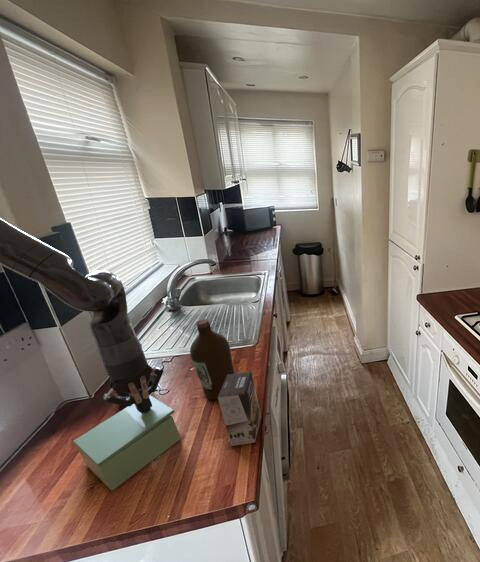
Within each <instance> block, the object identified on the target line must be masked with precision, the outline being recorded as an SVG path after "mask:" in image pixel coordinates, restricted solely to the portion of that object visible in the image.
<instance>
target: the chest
mask: <svg viewBox="0 0 480 562" xmlns="http://www.w3.org/2000/svg"><path fill="white" fill-rule="evenodd" d="M181 438H182V437H181V435H180V433H179V430H178V428H177V425H176V421H175V419H174V417H173V416H172V414H171V415H170V416H168V417H167V418H166V419H164V420H163V421H162V422H160V423H159V424H157V425H156V426H155V427H153V428H152V429H151V430H149V431H148V432H146V433H145V434H144V435H142V436H141V437H140V438H138V439H137V440H135V441H134V442H133V443H131V444H130V445H128V446H127V447H126V448H124V449H123V450H122V451H120V452H119V453H117V454H116V455H115V456H113V457H112V458H111V459H109V460H108V461H106V462H105V463H104V464H102V465H101V466H100V467H99V466H98V465H97V464H96V463H94V462H93V461H92V460H91V459H90V458H89V457H88V456H87V455H86V454H85V453H84V452H83V451H82V450H81V449H80V448H79V447H78V446H77V445H76V444H75V443H74V446H75V447H76V448H77V451H78V452H79V454H80V456H81V458H82V460H83V462H84V463H85V464H86V466H87V468H88V469H89V470H90V471H91V472H92V473H93V474H94V475H95V476H96V477H97V478H98V479H99V480H100V481H101V482H102V483H103V484H104V485H105V486H106V487H107V488H108V489H109V490H110V491H111V492H113V491H114V490H116V489H117V488H119V486H121V485H122V484H124V483H125V482H127V480H128V479H130V478H131V477H133V476H134V475H135V474H137V473H138V472H139V471H141V470H142V469H143V468H144V467H146V466H147V465H148V464H149V463H151V462H152V461H154V460H155V459H156V458H157V457H159V456H160V455H162V454H163V453H164V452H165V451H167V450H168V449H170V448H171V447H172V446H174V444H177V442H179V441H180V440H181Z"/></svg>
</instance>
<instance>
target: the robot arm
mask: <svg viewBox="0 0 480 562" xmlns="http://www.w3.org/2000/svg"><path fill="white" fill-rule="evenodd" d="M0 266H3V267H4V268H7V269H8V270H10V271H12V272H14V273H17V274H19V275H20V276H22V277H24V278H27V279H29V280H31V281H34V282H36V283H38V284H40V285H41V286H42V287H43V288H44V289H45V290H47V292H49V293H51V294H52V295H53V296H55V298H57V299H59V300H60V301H61V302H62V303H64V304H65V305H66V306H68V307H70V308H73V309H75V310H77V311H81V312H86V313H92V315H91V318H90V320H89V322H88V329H89V331H90V334H91V336H92V338H93V340H94V343H95V345H96V348H97V352H98V356H99V357H100V360H101V362H102V364H103V367H104V369H105V371H106V373H107V375H108V376H107V377H108V378H109V380H111V381H110V384H109V387H110V389H109V390H108V392H107V393H104V394H103V395H102V397H101V398H102V400H104V401H105V402H107V403H110V404H115V405H119V406H123V407H128V406H132V404H135V406H136V409H137V410H138V411H139V412H141V413H142V412H143V413H146V412H148V411H149V410H151V408H150V407H152V403H151V401H150V398H149V395H151V394H152V393H155V392H156V391H157V389H158V386H159V384H160V381H161V379H162V376H163V373H164V369H162V368H161V367H159V366H155V367H152V366H151V365H150V364H149V363H148V360H147V357H146V355H145V352H144V350H143V346H142V343H141V341H140V339H139V338H138V336H137V334H136V332H135V329H134V327H133V324H132V321H131V320H130V317H129V314H128V302H127V295H126V290H125V287H124V285H123V282H122V281H121V279H120V278H119V277H118V276H117V275H116V274H114V273H113V272H111V271H108V270H103V269H101V270H100V269H99V270H94V271H91V272H89V273H87V274H86V275H83V274H82V273H81V272H79V271H78V270H77V269H75V268H73V267H74V260H73V259H72V258H71V256H69V255H67V254H65V253H64V252H62V251H60V250H58V249H56V248H54V247H52V246H50V245H49V244H47V243H45V242H43V241H41V240H40V239H38V238H36V237H35V236H32V235H31V234H28V233H26V232H24V231H23V230H21V229H19V228H18V227H16V226H14V225H12V224H11V223H9V222H7V221H5V220H4V219H2V218H1V217H0ZM150 375H151V376H150ZM149 377H150V379H149ZM148 380H149V381H148ZM147 382H148V383H147ZM137 390H138V391H137ZM116 391H119V392H122V393H126V394H129V396H130V398H124V397H120V396H118V394H117V393H116Z"/></svg>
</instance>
